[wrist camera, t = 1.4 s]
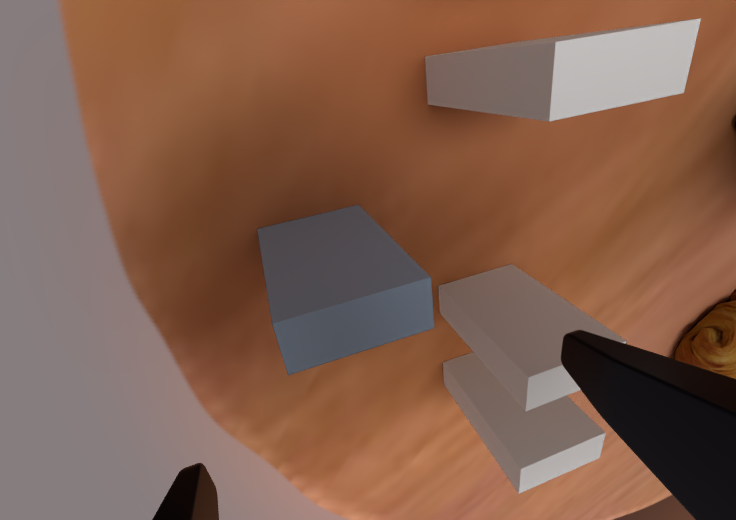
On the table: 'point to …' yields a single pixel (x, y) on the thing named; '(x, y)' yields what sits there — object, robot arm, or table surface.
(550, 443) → the domino
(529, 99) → the domino
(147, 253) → the table surface
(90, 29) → the table surface
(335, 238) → the domino
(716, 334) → the croissant
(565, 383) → the domino
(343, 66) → the table surface
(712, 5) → the table surface
